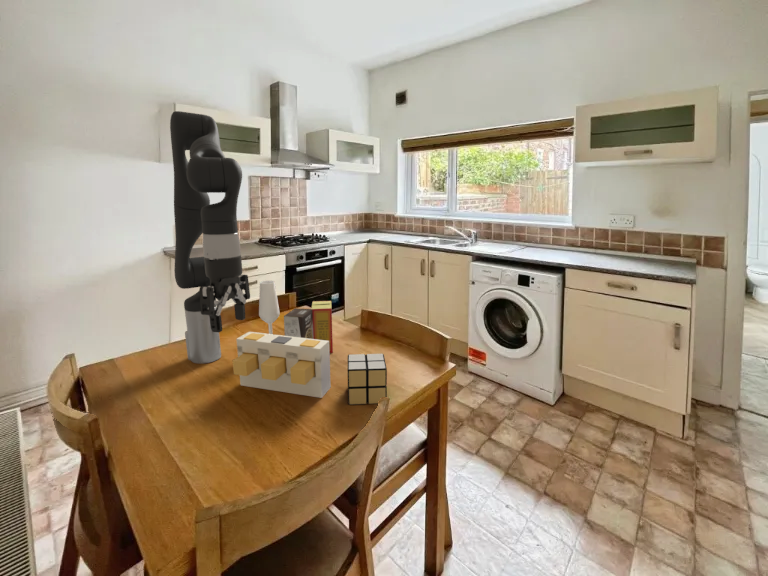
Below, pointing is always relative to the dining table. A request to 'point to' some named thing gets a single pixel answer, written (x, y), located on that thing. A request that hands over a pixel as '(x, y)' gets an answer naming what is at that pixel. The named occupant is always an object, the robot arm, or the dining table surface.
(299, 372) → the button
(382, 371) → the puzzle cube
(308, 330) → the coffee box
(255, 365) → the button
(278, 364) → the button
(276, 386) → the block
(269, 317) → the champagne flute
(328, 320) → the baking soda box
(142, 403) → the dining table surface
